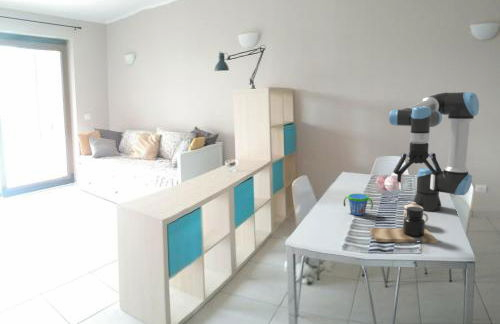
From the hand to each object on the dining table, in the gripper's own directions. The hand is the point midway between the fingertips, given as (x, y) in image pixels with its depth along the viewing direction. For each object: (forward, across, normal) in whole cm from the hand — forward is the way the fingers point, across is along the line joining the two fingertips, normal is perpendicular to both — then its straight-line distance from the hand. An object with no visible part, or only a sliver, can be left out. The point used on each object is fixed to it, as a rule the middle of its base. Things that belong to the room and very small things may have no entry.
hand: (416, 189), depth 167 cm
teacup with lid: (+23, +6, +15) cm, 28 cm away
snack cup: (+23, -19, +32) cm, 44 cm away
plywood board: (+23, -5, 0) cm, 23 cm away
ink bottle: (+21, 0, 0) cm, 21 cm away
